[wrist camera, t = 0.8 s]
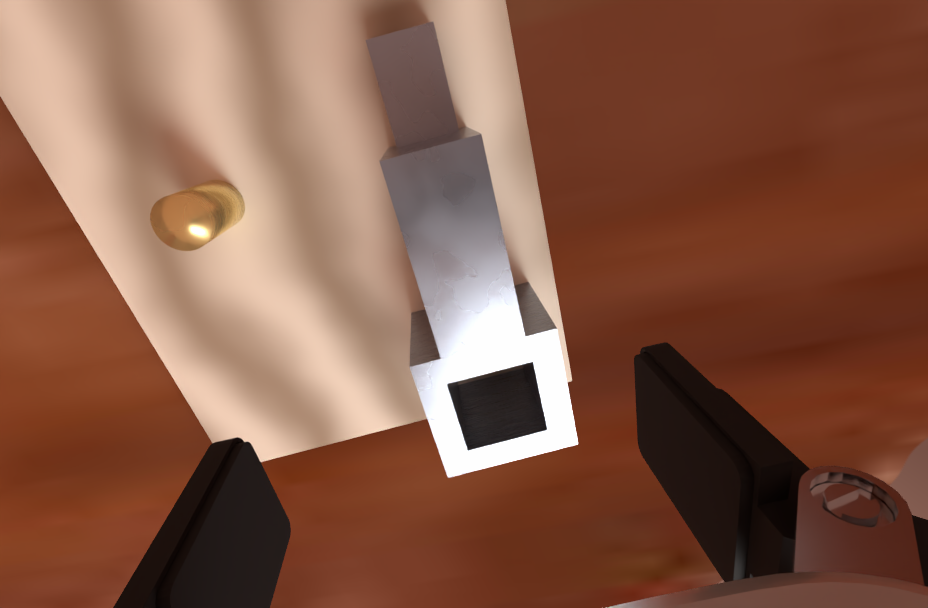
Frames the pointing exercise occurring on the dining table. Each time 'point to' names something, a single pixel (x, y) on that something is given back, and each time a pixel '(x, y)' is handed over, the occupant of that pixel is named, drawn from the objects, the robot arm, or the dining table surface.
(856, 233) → the dining table surface
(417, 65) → the link
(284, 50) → the board
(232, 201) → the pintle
